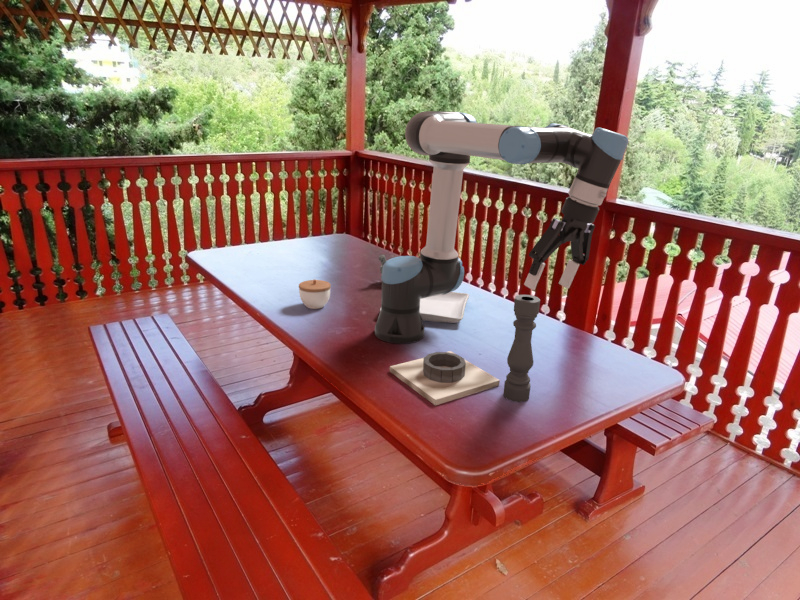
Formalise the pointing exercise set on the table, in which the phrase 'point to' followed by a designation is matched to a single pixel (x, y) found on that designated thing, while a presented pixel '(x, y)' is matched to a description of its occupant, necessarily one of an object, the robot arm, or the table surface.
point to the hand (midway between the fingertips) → (546, 286)
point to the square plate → (444, 307)
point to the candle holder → (521, 349)
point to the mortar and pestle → (382, 261)
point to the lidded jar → (314, 293)
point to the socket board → (443, 388)
